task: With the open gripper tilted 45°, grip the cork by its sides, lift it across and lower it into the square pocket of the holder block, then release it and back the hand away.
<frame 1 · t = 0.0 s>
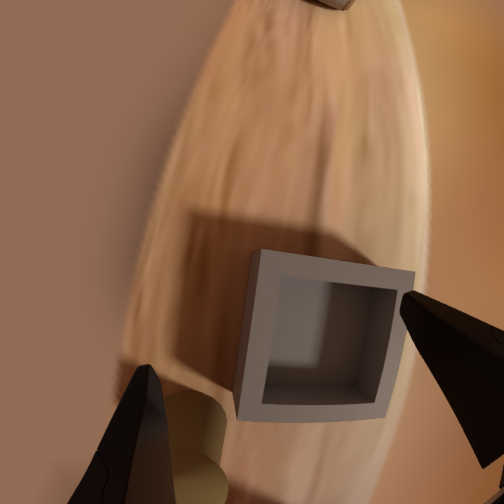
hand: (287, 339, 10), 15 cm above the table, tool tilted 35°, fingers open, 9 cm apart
holder block: (312, 332, 25), on the table
cork: (192, 419, 24), on the table
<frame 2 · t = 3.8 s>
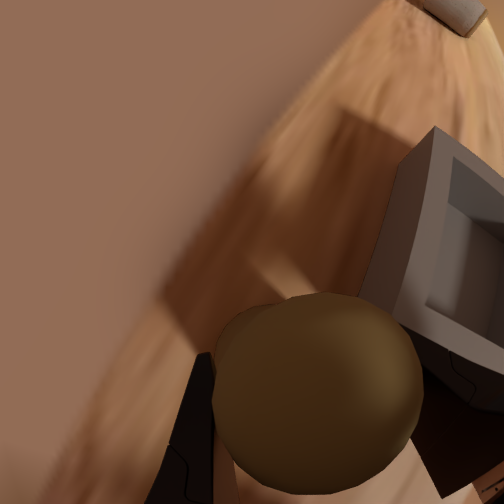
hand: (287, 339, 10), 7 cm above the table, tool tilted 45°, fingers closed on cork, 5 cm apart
ceramic mug: (446, 21, 28), on the table
holder block: (447, 275, 18), on the table
cork: (270, 359, 16), on the table, touching gripper
when the fingers open (9 cm above the table, at t = 8.0 s): cork drops 1 cm, resting on holder block.
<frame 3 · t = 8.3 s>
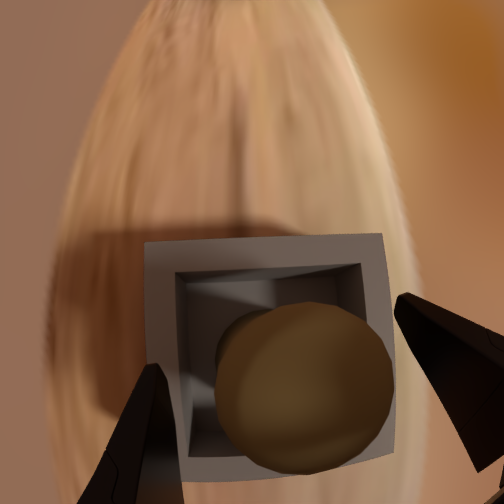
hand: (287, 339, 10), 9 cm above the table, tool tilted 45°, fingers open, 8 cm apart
holder block: (265, 355, 18), on the table
cork: (266, 359, 17), point 1 cm above the table, touching holder block
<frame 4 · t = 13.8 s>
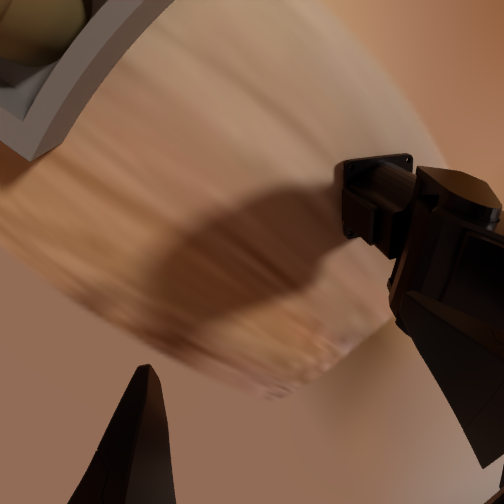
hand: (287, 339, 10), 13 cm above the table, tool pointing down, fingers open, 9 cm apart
holder block: (51, 22, 11), on the table
cork: (48, 22, 11), point 1 cm above the table, touching holder block
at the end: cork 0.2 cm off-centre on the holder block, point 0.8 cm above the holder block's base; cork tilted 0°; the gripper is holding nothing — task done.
